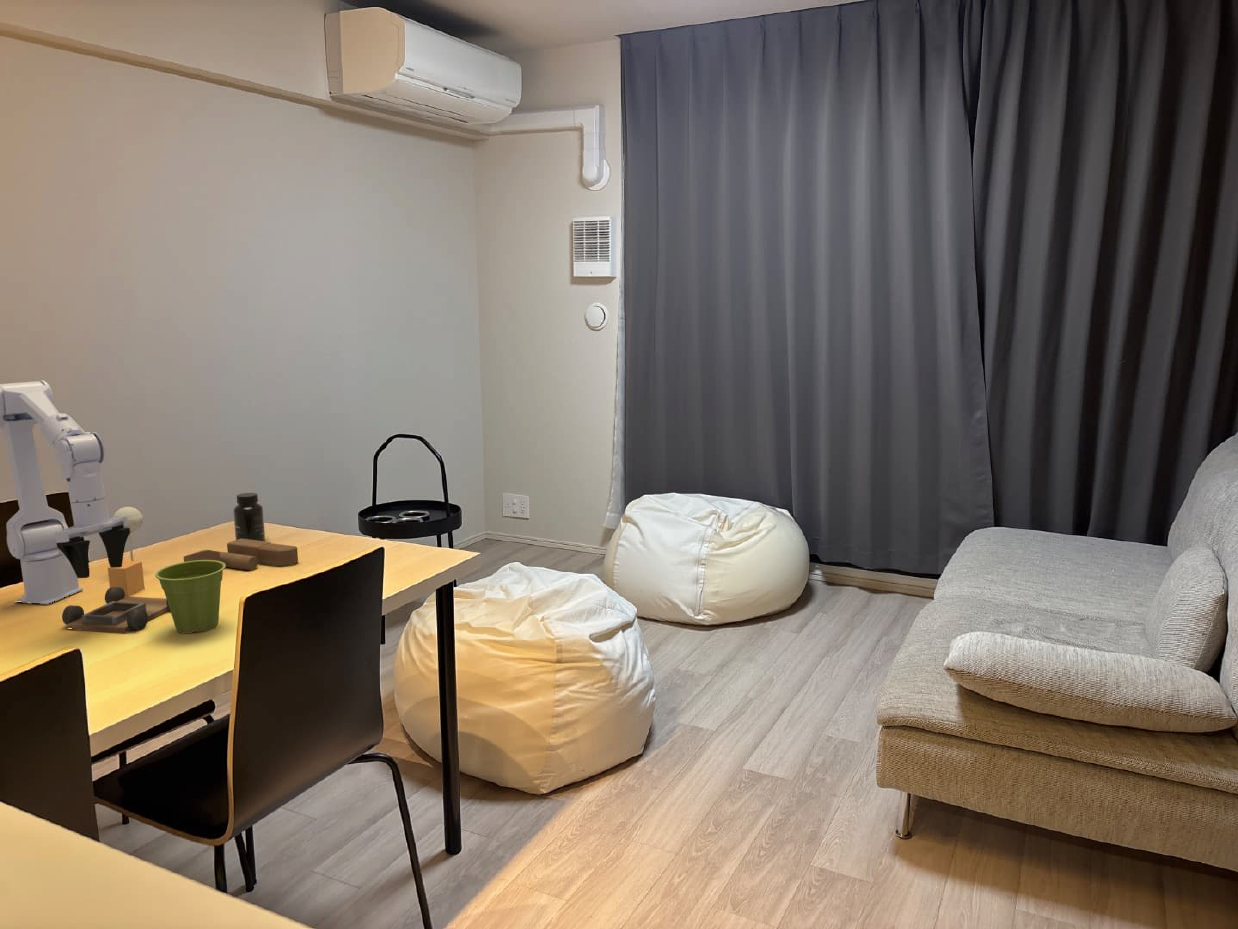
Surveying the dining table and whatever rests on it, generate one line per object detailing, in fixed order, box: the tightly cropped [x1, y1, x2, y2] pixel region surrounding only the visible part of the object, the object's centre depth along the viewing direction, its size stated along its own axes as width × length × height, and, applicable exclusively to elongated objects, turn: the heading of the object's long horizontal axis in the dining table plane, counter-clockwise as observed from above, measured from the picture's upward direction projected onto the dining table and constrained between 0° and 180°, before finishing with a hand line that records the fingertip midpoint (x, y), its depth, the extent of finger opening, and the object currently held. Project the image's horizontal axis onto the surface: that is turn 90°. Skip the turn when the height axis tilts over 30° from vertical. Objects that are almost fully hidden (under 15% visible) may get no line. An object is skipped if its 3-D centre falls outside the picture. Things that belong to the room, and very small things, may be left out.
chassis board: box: [61, 586, 170, 634], centre depth 177 cm, size 16×15×4 cm
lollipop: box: [112, 506, 144, 561], centre depth 204 cm, size 6×6×15 cm
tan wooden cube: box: [107, 560, 146, 597], centre depth 191 cm, size 5×4×6 cm
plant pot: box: [154, 560, 227, 634], centre depth 170 cm, size 12×12×11 cm
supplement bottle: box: [232, 492, 266, 541], centre depth 229 cm, size 7×7×12 cm
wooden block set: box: [183, 539, 299, 571], centre depth 207 cm, size 17×6×18 cm
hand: (100, 572), depth 171 cm, fingers open, 7 cm apart
